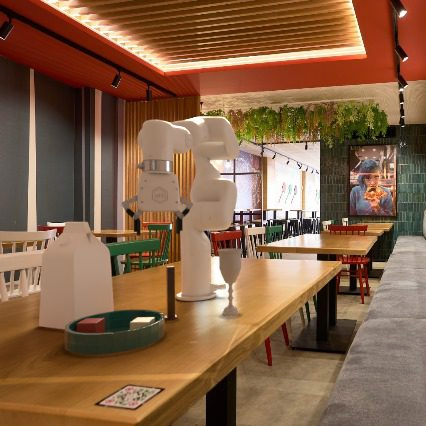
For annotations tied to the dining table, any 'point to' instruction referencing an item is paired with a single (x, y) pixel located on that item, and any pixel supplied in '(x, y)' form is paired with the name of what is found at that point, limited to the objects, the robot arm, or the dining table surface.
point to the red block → (91, 325)
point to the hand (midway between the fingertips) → (158, 234)
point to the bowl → (115, 333)
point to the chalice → (230, 274)
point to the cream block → (141, 322)
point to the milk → (75, 277)
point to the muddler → (170, 293)
